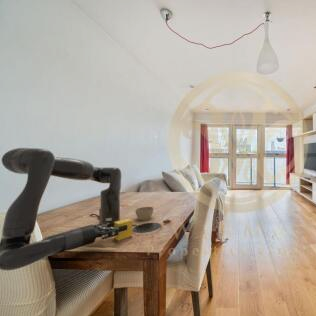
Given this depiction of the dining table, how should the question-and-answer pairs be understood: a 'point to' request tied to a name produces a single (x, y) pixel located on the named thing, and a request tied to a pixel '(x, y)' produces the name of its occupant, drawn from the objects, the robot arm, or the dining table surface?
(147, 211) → the beige bowl
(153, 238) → the dining table surface
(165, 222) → the brown small block
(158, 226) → the pan
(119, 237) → the sponge
